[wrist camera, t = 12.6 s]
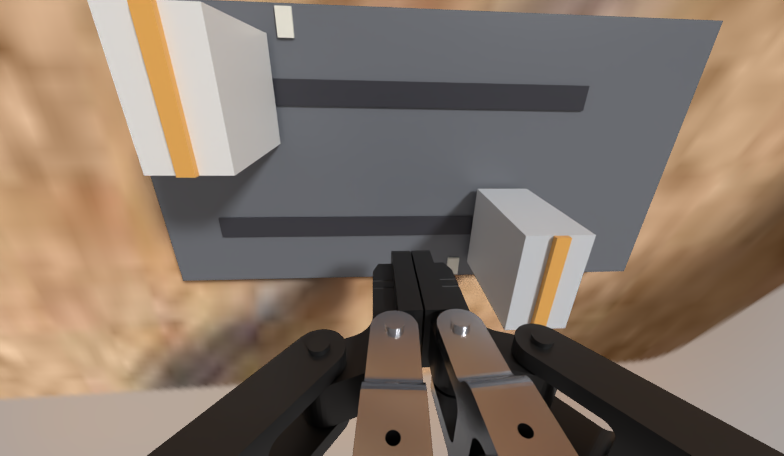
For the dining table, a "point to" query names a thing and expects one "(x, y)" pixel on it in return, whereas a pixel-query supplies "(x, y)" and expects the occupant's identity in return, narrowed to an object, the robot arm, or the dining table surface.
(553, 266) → the grey fader
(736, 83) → the dining table surface
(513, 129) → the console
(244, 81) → the white fader
